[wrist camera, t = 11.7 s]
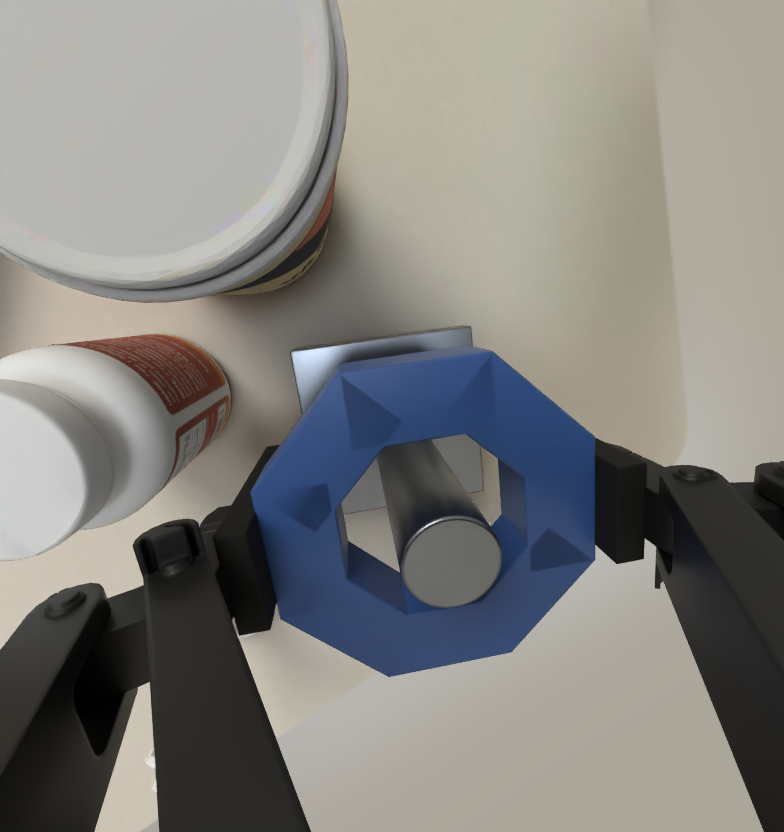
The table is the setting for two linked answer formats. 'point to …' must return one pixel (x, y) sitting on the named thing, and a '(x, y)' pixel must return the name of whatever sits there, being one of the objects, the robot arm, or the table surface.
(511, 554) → the ring
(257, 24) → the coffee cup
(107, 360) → the pill bottle
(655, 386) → the table surface
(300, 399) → the post
